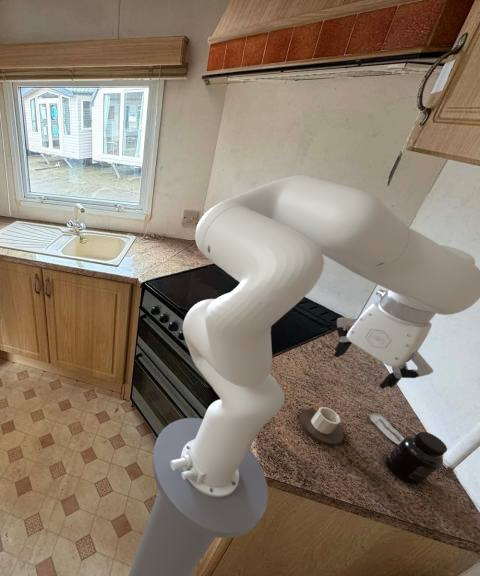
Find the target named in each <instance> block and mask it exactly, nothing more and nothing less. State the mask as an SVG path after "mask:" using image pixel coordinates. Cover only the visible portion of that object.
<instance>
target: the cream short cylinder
mask: <svg viewBox="0 0 480 576" xmlns="http://www.w3.org/2000/svg"><path fill="white" fill-rule="evenodd" d="M315 408H316V410H317V412H316V413H315V415H314V416H313V417H312V419H311V422H312V425H313V426H314V427H315V428H316V429H317V430H318V431H320V432H322V433H324V434H330V433H332V432H333V431H334V430H335V428H336V427H337V426H338V425H339V426H340V423H341V420H342V419H341V416H340V415H339V414H338V413H337V412H336V411H335V410H333V409H332V408H330V407H325V406H322V405H321V404H318V405H316V407H315Z"/></svg>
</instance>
